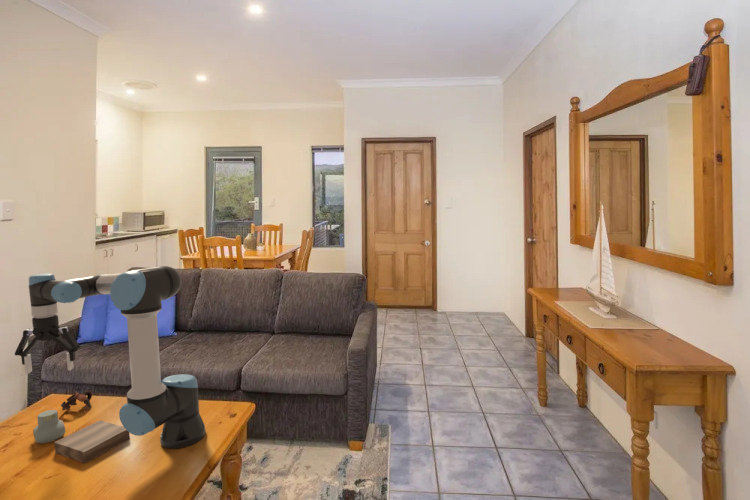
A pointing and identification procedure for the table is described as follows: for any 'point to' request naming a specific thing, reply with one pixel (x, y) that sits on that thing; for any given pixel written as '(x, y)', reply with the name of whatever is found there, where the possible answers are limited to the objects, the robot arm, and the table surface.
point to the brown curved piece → (81, 398)
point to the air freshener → (48, 427)
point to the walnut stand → (91, 441)
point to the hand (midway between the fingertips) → (50, 371)
